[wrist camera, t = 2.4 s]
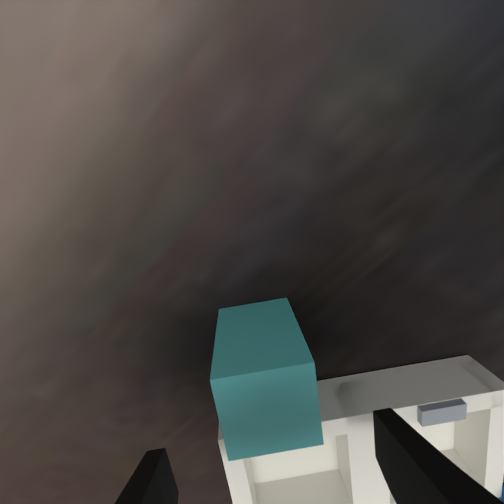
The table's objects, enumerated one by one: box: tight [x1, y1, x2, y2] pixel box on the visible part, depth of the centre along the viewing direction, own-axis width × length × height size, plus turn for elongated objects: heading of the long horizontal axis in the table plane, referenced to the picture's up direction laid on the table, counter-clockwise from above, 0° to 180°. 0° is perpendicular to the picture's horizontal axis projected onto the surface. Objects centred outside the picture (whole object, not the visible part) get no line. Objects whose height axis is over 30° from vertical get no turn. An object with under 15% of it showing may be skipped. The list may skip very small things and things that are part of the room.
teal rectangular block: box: [210, 298, 324, 461], centre depth 14 cm, size 4×4×6 cm
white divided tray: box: [218, 355, 504, 504], centre depth 17 cm, size 16×8×3 cm, turn 99°
